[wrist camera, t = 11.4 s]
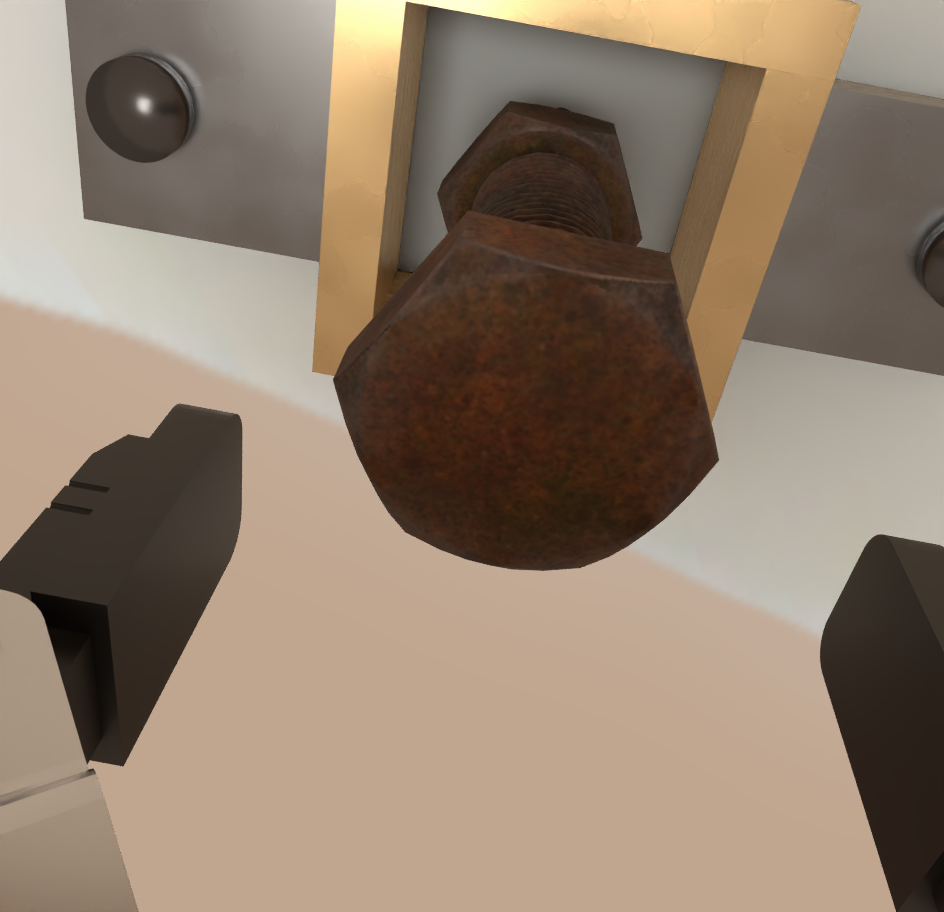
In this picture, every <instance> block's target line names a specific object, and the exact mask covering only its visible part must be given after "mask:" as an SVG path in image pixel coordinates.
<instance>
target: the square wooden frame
mask: <svg viewBox="0 0 944 912" xmlns="http://www.w3.org/2000/svg"><path fill="white" fill-rule="evenodd" d="M428 6H435V7H440V8H445V9H451V10H456V11H462V12H467V13H472V14H478V15H483V16H488V17H494V18H499V19H504V20H510V21H515V22H520V23H526V24H531V25H536V26H542V27H547V28H553V29H558V30H563V31H569V32H574V33H579V34H585V35H590V36H595V37H601V38H606V39H611V40H617V41H622V42H627V43H633V44H638V45H644V46H649V47H654V48H660V49H665V50H670V51H676V52H681V53H686V54H692V55H697V56H702V57H708V58H713V59H719V60H724V61H727V63H726V66H725V70H724V73H723V77H722V80H721V83H720V87H719V90H718V94H717V97H716V101H715V104H714V107H713V111H712V114H711V118H710V121H709V124H708V128H707V131H706V135H705V138H704V141H703V145H702V148H701V152H700V155H699V158H698V162H697V165H696V169H695V172H694V176H693V179H692V182H691V186H690V189H689V193H688V196H687V199H686V203H685V206H684V210H683V213H682V216H681V220H680V223H679V227H678V230H677V233H676V237H675V240H674V244H673V247H672V251H671V254H670V259H671V263H672V266H673V270H674V274H675V278H676V281H677V285H678V289H679V293H680V296H681V300H682V304H683V308H684V312H685V316H686V319H687V323H688V327H689V331H690V335H691V339H692V344H693V348H694V352H695V356H696V361H697V365H698V369H699V373H700V378H701V382H702V386H703V390H704V394H705V399H706V403H707V407H708V411H709V416H710V420H711V423H712V420H713V417H714V414H715V411H716V409H717V406H718V403H719V400H720V398H721V395H722V392H723V389H724V386H725V384H726V381H727V378H728V375H729V373H730V370H731V367H732V364H733V361H734V359H735V356H736V353H737V350H738V347H739V345H740V342H741V339H742V336H743V334H744V331H745V328H746V325H747V322H748V320H749V317H750V314H751V311H752V308H753V306H754V303H755V300H756V297H757V295H758V292H759V289H760V286H761V283H762V281H763V278H764V275H765V272H766V270H767V267H768V264H769V261H770V258H771V256H772V253H773V250H774V247H775V244H776V242H777V239H778V236H779V233H780V231H781V228H782V225H783V222H784V219H785V217H786V214H787V211H788V208H789V206H790V203H791V200H792V197H793V194H794V192H795V189H796V186H797V183H798V180H799V178H800V175H801V172H802V169H803V167H804V164H805V161H806V158H807V155H808V153H809V150H810V147H811V144H812V142H813V139H814V136H815V133H816V130H817V128H818V125H819V122H820V119H821V116H822V114H823V111H824V108H825V105H826V103H827V100H828V97H829V94H830V91H831V89H832V86H833V83H834V80H835V78H836V75H837V72H838V69H839V66H840V64H841V61H842V58H843V55H844V52H845V50H846V47H847V44H848V41H849V39H850V36H851V33H852V30H853V27H854V25H855V22H856V19H857V16H858V14H859V11H860V8H861V5H859V4H856V3H854V2H852V1H849V0H337V2H336V17H335V33H334V48H333V63H332V79H331V94H330V109H329V124H328V140H327V155H326V170H325V186H324V201H323V216H322V232H321V247H320V262H319V277H318V293H317V308H316V323H315V339H314V354H313V369H312V372H317V373H322V374H328V375H333V376H335V374H336V372H337V369H338V367H339V365H340V363H341V360H342V358H343V356H344V354H345V351H346V349H347V347H348V346H349V345H350V343H351V342H352V341H353V340H354V339H355V338H356V337H357V336H358V334H359V333H360V332H361V331H362V330H363V329H364V328H365V327H366V325H367V324H368V323H369V322H370V321H371V320H372V319H373V318H374V316H375V315H376V314H377V313H378V312H379V311H380V310H381V309H382V307H383V306H384V305H385V304H386V303H387V302H388V301H389V299H390V298H391V297H392V296H393V295H394V294H395V293H396V292H397V290H398V289H399V288H400V287H401V286H402V285H403V284H404V283H405V281H406V280H407V279H408V278H409V277H410V276H411V275H412V274H413V273H407V272H402V271H398V263H399V254H400V245H401V237H402V228H403V220H404V211H405V203H406V194H407V186H408V177H409V169H410V160H411V152H412V143H413V134H414V126H415V117H416V109H417V100H418V92H419V83H420V75H421V66H422V58H423V49H424V40H425V32H426V23H427V15H428Z"/></svg>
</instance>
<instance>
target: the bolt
mask: <svg viewBox="0 0 944 912" xmlns="http://www.w3.org/2000/svg"><path fill="white" fill-rule="evenodd" d="M437 195H438V198H439V202H440V206H441V209H442V213H443V217H444V220H445V223H446V226H447V229H448V232H449V233H448V234H447V235H446V236H445V237H444V239H443V240H442V241H441V242H440V243H439V244H438V245H437V246H436V248H435V249H434V250H433V251H432V252H431V253H430V254H429V256H428V257H427V258H426V259H425V260H424V261H423V262H422V263H421V265H420V266H419V267H418V268H417V269H416V270H415V271H414V272H413V274H412V275H411V276H410V277H409V278H408V279H407V280H406V281H405V283H404V284H403V285H402V286H401V287H400V288H399V289H398V290H397V292H396V293H395V294H394V295H393V296H392V297H391V298H390V299H389V301H388V302H387V303H386V304H385V305H384V306H383V307H382V309H381V310H380V311H379V312H378V313H377V314H376V315H375V316H374V318H373V319H372V320H371V321H370V322H369V323H368V324H367V325H366V327H365V328H364V329H363V330H362V331H361V332H360V333H359V334H358V336H357V337H356V338H355V339H354V340H353V341H352V342H351V343H350V345H349V346H348V347H347V349H346V351H345V354H344V356H343V358H342V360H341V363H340V365H339V367H338V369H337V372H336V374H335V376H334V378H333V382H334V385H335V389H336V392H337V395H338V399H339V402H340V406H341V409H342V413H343V416H344V420H345V423H346V426H347V428H348V431H349V434H350V436H351V439H352V442H353V445H354V447H355V450H356V453H357V455H358V457H359V459H360V461H361V463H362V465H363V467H364V469H365V471H366V473H367V475H368V477H369V479H370V481H371V483H372V485H373V487H374V489H375V491H376V492H377V494H378V496H379V498H380V499H381V501H382V503H383V504H384V506H385V507H386V509H387V511H388V512H389V513H390V515H391V516H392V517H393V518H394V519H395V521H396V522H397V523H398V524H399V525H400V527H402V529H403V530H404V531H405V532H406V533H408V534H410V535H412V536H414V537H416V538H418V539H420V540H422V541H424V542H426V543H428V544H430V545H432V546H434V547H436V548H438V549H440V550H443V551H445V552H448V553H451V554H453V555H456V556H459V557H462V558H464V559H467V560H471V561H475V562H479V563H483V564H487V565H491V566H497V567H502V568H508V569H518V570H541V571H544V570H545V571H546V570H559V569H572V568H581V567H584V566H586V565H589V564H592V563H594V562H597V561H599V560H602V559H605V558H607V557H609V556H611V555H613V554H615V553H616V552H618V551H620V550H622V549H624V548H625V547H627V546H629V545H630V544H632V543H633V542H635V541H636V540H637V539H639V538H640V537H642V536H643V535H645V534H646V533H647V532H649V531H650V530H651V529H653V528H654V527H655V526H656V525H658V524H659V523H660V522H662V521H663V520H664V519H665V518H666V517H667V516H668V515H669V514H670V513H672V512H673V511H674V510H675V509H676V508H677V507H678V506H679V505H680V504H681V503H682V502H683V501H684V500H685V499H686V498H687V497H688V496H689V495H690V494H691V493H692V491H693V490H694V489H695V488H696V487H697V486H698V484H699V483H700V482H701V481H702V480H703V478H704V477H705V476H706V475H707V474H708V473H709V471H710V470H711V469H712V468H713V467H714V466H715V464H716V463H717V462H718V461H719V458H718V453H717V448H716V442H715V437H714V433H713V428H712V424H711V420H710V416H709V411H708V407H707V403H706V399H705V394H704V390H703V386H702V382H701V378H700V373H699V369H698V365H697V361H696V356H695V352H694V348H693V344H692V339H691V335H690V331H689V327H688V323H687V319H686V316H685V312H684V308H683V304H682V300H681V296H680V293H679V289H678V285H677V281H676V278H675V274H674V270H673V266H672V263H671V259H670V255H669V254H668V253H663V252H659V251H654V250H649V249H645V248H640V247H636V245H637V244H638V243H639V242H640V241H641V239H642V235H641V231H640V226H639V222H638V218H637V213H636V209H635V205H634V201H633V197H632V193H631V189H630V185H629V181H628V177H627V173H626V169H625V165H624V161H623V157H622V153H621V149H620V145H619V142H618V138H617V134H616V130H615V127H614V124H612V123H609V122H605V121H602V120H599V119H596V118H593V117H589V116H586V115H582V114H578V113H574V112H571V111H569V110H567V109H564V108H551V107H546V106H541V105H535V104H527V103H520V102H512V101H510V102H509V103H508V104H507V105H506V106H505V107H504V108H503V110H502V111H501V112H500V113H499V114H498V115H497V116H496V117H495V118H494V119H493V120H492V121H491V123H490V124H489V125H488V126H487V127H486V128H485V129H484V131H483V132H482V133H481V134H480V135H479V136H478V138H477V139H476V140H475V141H474V142H473V143H472V145H471V146H470V147H469V148H468V149H467V151H466V152H465V153H464V154H463V155H462V157H461V158H460V159H459V160H458V162H457V163H456V164H455V165H454V167H453V168H452V169H451V171H450V172H449V173H448V174H447V176H446V177H445V178H444V179H443V181H442V183H441V186H440V188H439V191H438V193H437Z"/></svg>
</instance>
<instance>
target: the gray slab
mask: <svg viewBox="0 0 944 912" xmlns="http://www.w3.org/2000/svg"><path fill="white" fill-rule="evenodd" d="M336 2H337V0H65V3H66V14H67V26H68V37H69V49H70V61H71V72H72V84H73V96H74V107H75V119H76V130H77V142H78V154H79V165H80V177H81V189H82V200H83V212H84V219H89V220H94V221H99V222H105V223H110V224H116V225H121V226H127V227H132V228H138V229H143V230H149V231H154V232H160V233H165V234H171V235H176V236H182V237H187V238H193V239H198V240H204V241H209V242H214V243H220V244H225V245H231V246H236V247H242V248H247V249H253V250H258V251H264V252H269V253H275V254H280V255H286V256H291V257H297V258H302V259H308V260H313V261H319V262H320V247H321V232H322V216H323V201H324V186H325V170H326V155H327V140H328V124H329V109H330V94H331V79H332V63H333V48H334V33H335V17H336Z"/></svg>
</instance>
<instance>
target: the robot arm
mask: <svg viewBox="0 0 944 912" xmlns="http://www.w3.org/2000/svg"><path fill="white" fill-rule="evenodd" d="M241 506H242V422H241V419H240V416H239V415H238V414H234V413H228V412H223V411H217V410H212V409H206V408H201V407H196V406H190V405H184V404H177V405H176V406H174V408H172V410H171V411H170V412H169V414H168V415H167V416H166V417H165V419H164V420H163V421H162V423H161V424H160V425H159V426H158V428H157V429H156V430H155V432H154V433H153V434H152V436H151V437H150V438H144V437H138V436H133V435H127V436H125V437H123V438H121V439H119V440H117V441H115V442H114V443H112V444H110V445H108V446H106V447H104V448H103V449H101V450H99V451H97V452H95V453H93V454H92V455H91V456H90V457H89V458H88V460H87V461H86V462H85V463H84V464H83V466H82V467H81V468H80V469H79V470H78V471H77V472H76V474H75V475H74V476H73V477H72V478H71V479H70V483H69V486H64V488H63V489H62V490H61V491H60V492H59V493H58V495H57V496H56V497H55V498H54V499H53V501H52V502H51V507H50V508H46V509H45V510H44V511H43V512H42V513H41V514H40V516H39V517H38V518H37V519H36V520H35V521H34V523H33V524H32V525H31V526H30V527H29V529H28V530H27V531H26V532H25V533H24V534H23V535H22V536H21V538H20V539H19V540H18V541H17V542H16V543H15V545H14V546H13V547H12V548H11V549H10V551H9V552H8V553H7V554H6V555H5V556H4V557H3V559H2V560H1V561H0V912H139V911H138V908H137V905H136V901H135V898H134V895H133V891H132V888H131V885H130V881H129V878H128V875H127V871H126V868H125V865H124V861H123V858H122V855H121V851H120V848H119V845H118V841H117V838H116V835H115V831H114V828H113V825H112V821H111V818H110V815H109V811H108V808H107V805H106V801H105V798H104V795H103V792H102V788H101V785H100V783H99V780H98V777H97V775H96V773H95V770H94V769H90V770H89V769H88V766H87V764H88V762H89V761H90V760H92V761H97V762H102V763H109V764H114V765H119V766H124V764H125V762H126V760H127V758H128V757H129V755H130V753H131V751H132V749H133V747H134V745H135V743H136V741H137V739H138V737H139V735H140V733H141V731H142V730H143V728H144V726H145V724H146V722H147V720H148V718H149V716H150V714H151V712H152V710H153V708H154V706H155V704H156V702H157V701H158V699H159V696H160V695H161V693H162V691H163V689H164V687H165V685H166V683H167V681H168V679H169V677H170V675H171V673H172V672H173V669H174V668H175V666H176V664H177V662H178V660H179V658H180V656H181V654H182V652H183V650H184V648H185V647H186V644H187V642H188V640H189V639H190V637H191V635H192V633H193V631H194V629H195V627H196V625H197V623H198V621H199V619H200V618H201V616H202V613H203V612H204V610H205V608H206V606H207V604H208V602H209V600H210V598H211V596H212V594H213V592H214V591H215V589H216V587H217V585H218V583H219V581H220V579H221V577H222V575H223V573H224V571H225V569H226V567H227V565H228V563H229V561H230V559H231V557H232V554H233V552H234V548H235V545H236V542H237V538H238V534H239V529H240V521H241V509H242V507H241ZM820 661H821V669H822V673H823V677H824V680H825V683H826V686H827V690H828V693H829V696H830V699H831V703H832V706H833V709H834V712H835V715H836V719H837V722H838V725H839V728H840V732H841V735H842V738H843V741H844V745H845V748H846V751H847V754H848V758H849V761H850V764H851V767H852V770H853V774H854V777H855V780H856V783H857V787H858V790H859V793H860V796H861V800H862V803H863V806H864V809H865V812H866V815H867V819H868V822H869V825H870V828H871V832H872V835H873V838H874V842H875V845H876V848H877V851H878V854H879V857H880V861H881V864H882V867H883V870H884V874H885V877H886V880H887V883H888V887H889V890H890V893H891V896H892V900H893V903H894V906H895V909H896V912H944V547H943V546H940V545H936V544H931V543H925V542H920V541H915V540H909V539H904V538H898V537H893V536H887V535H881V534H880V535H876V536H874V537H873V538H872V539H871V540H870V541H869V542H868V543H867V545H866V546H865V548H864V550H863V552H862V554H861V556H860V558H859V559H858V561H857V563H856V565H855V567H854V569H853V571H852V573H851V575H850V577H849V579H848V581H847V583H846V585H845V587H844V589H843V591H842V593H841V595H840V597H839V599H838V601H837V603H836V605H835V606H834V608H833V610H832V612H831V614H830V616H829V618H828V620H827V623H826V625H825V628H824V631H823V635H822V640H821V648H820Z"/></svg>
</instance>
